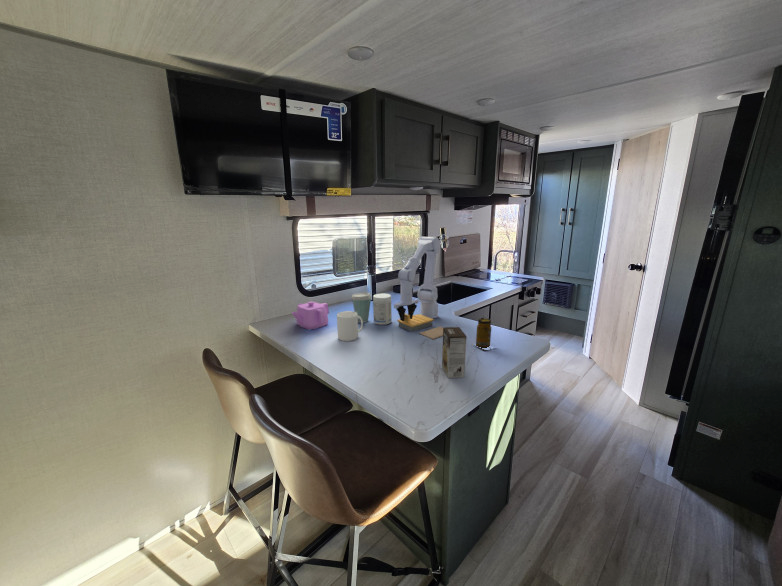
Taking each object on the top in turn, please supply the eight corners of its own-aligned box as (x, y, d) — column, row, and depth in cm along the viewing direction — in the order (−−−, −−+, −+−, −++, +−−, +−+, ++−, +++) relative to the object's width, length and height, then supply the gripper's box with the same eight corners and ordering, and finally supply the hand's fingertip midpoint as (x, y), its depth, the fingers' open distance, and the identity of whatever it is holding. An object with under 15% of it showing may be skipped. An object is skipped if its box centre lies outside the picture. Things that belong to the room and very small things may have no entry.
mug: (334, 337, 156) (332, 313, 153) (355, 331, 163) (354, 308, 160) (345, 343, 149) (343, 319, 146) (366, 336, 156) (366, 313, 153)
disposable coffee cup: (350, 323, 174) (349, 296, 170) (354, 317, 184) (353, 291, 180) (370, 324, 172) (369, 296, 169) (373, 317, 183) (373, 291, 179)
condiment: (483, 341, 150) (485, 316, 147) (497, 348, 142) (499, 322, 139) (471, 344, 147) (472, 319, 144) (484, 351, 139) (485, 325, 136)
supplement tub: (384, 318, 182) (384, 292, 178) (395, 322, 175) (395, 295, 171) (369, 321, 176) (369, 295, 172) (380, 326, 169) (380, 298, 165)
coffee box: (441, 366, 127) (442, 326, 123) (457, 365, 127) (459, 326, 123) (447, 378, 118) (448, 336, 114) (464, 377, 118) (467, 335, 114)
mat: (439, 327, 167) (439, 326, 167) (453, 332, 160) (453, 331, 160) (419, 333, 159) (419, 332, 159) (432, 339, 152) (432, 338, 152)
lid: (419, 316, 178) (419, 306, 177) (433, 322, 170) (433, 311, 168) (397, 322, 169) (397, 312, 168) (411, 328, 161) (411, 317, 159)
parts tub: (418, 320, 178) (419, 315, 177) (432, 325, 170) (432, 320, 170) (398, 326, 170) (398, 321, 169) (411, 331, 162) (411, 326, 161)
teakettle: (325, 330, 165) (324, 306, 162) (291, 330, 165) (289, 307, 162) (331, 319, 182) (329, 297, 179) (300, 319, 181) (298, 297, 178)
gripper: (412, 289, 169) (411, 314, 172) (389, 294, 160) (389, 320, 164) (421, 292, 164) (421, 318, 167) (398, 296, 155) (398, 324, 158)
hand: (406, 319), depth 165 cm, fingers open, 5 cm apart
